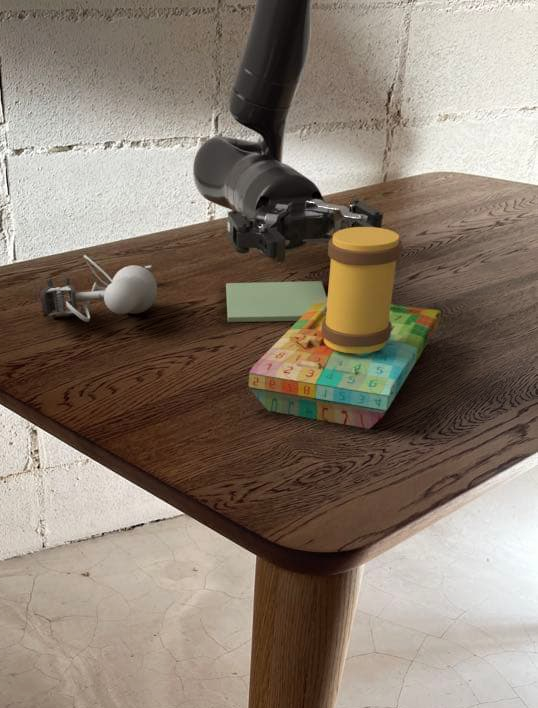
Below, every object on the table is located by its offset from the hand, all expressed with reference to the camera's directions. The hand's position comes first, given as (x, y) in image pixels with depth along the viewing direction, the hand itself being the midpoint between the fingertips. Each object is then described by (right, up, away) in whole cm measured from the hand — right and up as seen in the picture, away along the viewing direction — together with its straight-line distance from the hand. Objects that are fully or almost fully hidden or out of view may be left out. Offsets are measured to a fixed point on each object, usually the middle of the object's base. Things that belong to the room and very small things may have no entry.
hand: (327, 247), depth 79 cm
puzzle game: (+2, -12, +1) cm, 12 cm away
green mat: (-2, 0, +18) cm, 18 cm away
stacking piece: (+2, -9, -4) cm, 10 cm away
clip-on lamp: (-21, -1, +19) cm, 28 cm away
